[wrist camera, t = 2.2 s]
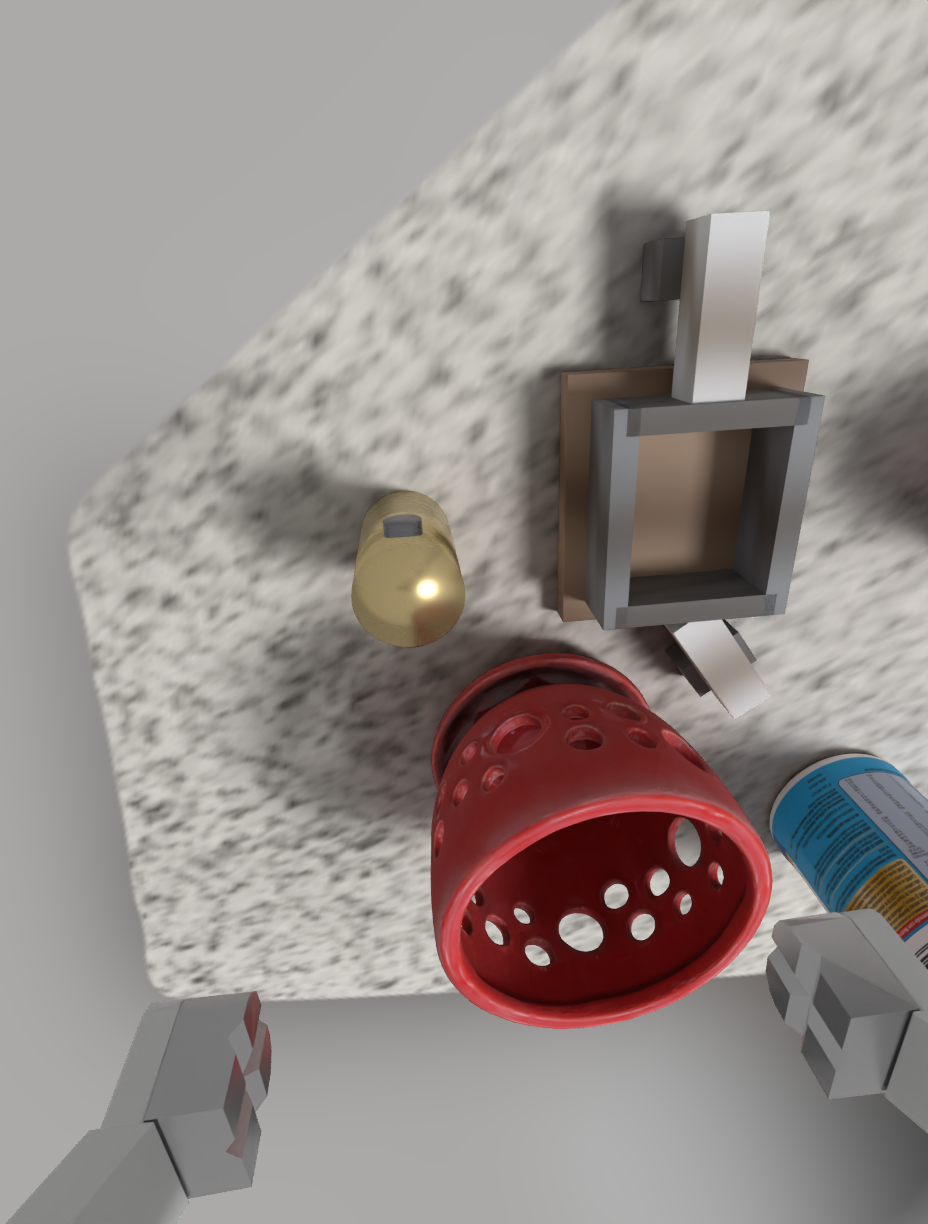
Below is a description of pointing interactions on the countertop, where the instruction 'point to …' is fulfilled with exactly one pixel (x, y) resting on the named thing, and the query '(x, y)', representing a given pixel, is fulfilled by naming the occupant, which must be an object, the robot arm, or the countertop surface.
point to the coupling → (407, 572)
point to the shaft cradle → (690, 468)
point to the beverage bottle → (859, 841)
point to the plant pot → (581, 847)
